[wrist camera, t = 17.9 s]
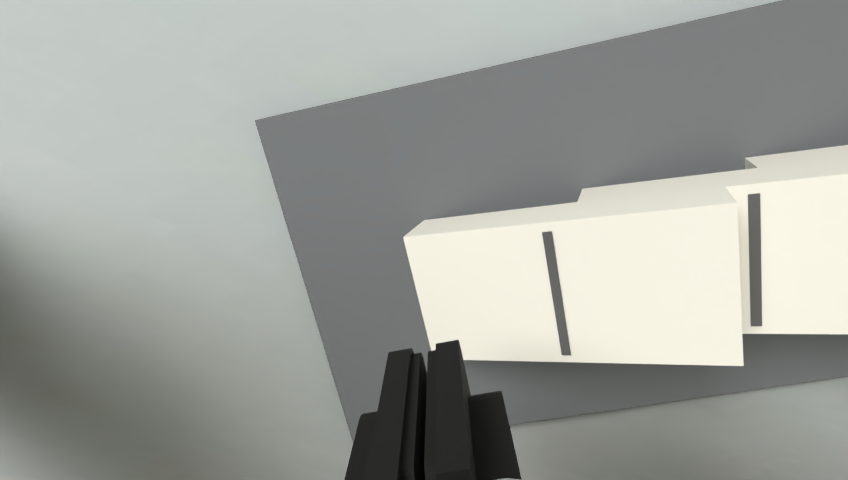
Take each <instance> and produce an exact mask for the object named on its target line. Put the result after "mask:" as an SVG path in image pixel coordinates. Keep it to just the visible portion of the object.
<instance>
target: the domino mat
mask: <svg viewBox="0 0 848 480" xmlns="http://www.w3.org/2000/svg"><path fill="white" fill-rule="evenodd" d="M255 122H256V126H257V129H258V132H259V135H260V139H261V142H262V145H263V149H264V152H265V155H266V158H267V162H268V165H269V168H270V171H271V175H272V178H273V181H274V185H275V188H276V191H277V194H278V198H279V201H280V204H281V208H282V211H283V214H284V217H285V221H286V224H287V227H288V230H289V234H290V237H291V240H292V244H293V247H294V250H295V253H296V257H297V260H298V263H299V267H300V270H301V273H302V276H303V280H304V283H305V286H306V289H307V293H308V296H309V299H310V303H311V306H312V309H313V312H314V316H315V319H316V322H317V326H318V329H319V332H320V335H321V339H322V342H323V345H324V348H325V352H326V355H327V358H328V362H329V365H330V368H331V371H332V375H333V378H334V381H335V384H336V388H337V391H338V394H339V398H340V401H341V404H342V407H343V411H344V414H345V417H346V421H347V424H348V427H349V430H350V434H351V437H352V440H353V443H354V439H355V434H356V430H357V426H358V422H359V419H360V416H361V415H362V414H363V413H369V412H375V411H377V410H378V405H379V400H380V394H381V389H382V384H383V378H384V373H385V368H386V362H387V357H388V353H389V352H392V351H397V350H403V349H409V348H412V349H413V352H414V354H416V353H422V355H423V358H424V362H425V366H426V371H427V362H428V351H431V348H430V344H429V340H428V336H427V332H426V328H425V324H424V320H423V316H422V312H421V307H420V303H419V299H418V295H417V291H416V287H415V283H414V279H413V275H412V271H411V267H410V263H409V259H408V255H407V251H406V247H405V243H404V239H403V237H404V236H405V235H406V234H408V233H409V232H410V231H411V230H412V229H414V228H415V227H416V226H417V225H419V224H420V223H421V222H422V221H424V220H429V219H437V218H446V217H454V216H463V215H471V214H480V213H488V212H497V211H505V210H514V209H522V208H531V207H539V206H548V205H556V204H564V203H573V202H578V199H579V196H580V194H581V191H582V189H583V188H592V187H600V186H609V185H617V184H625V183H634V182H642V181H651V180H659V179H667V178H676V177H684V176H693V175H701V174H710V173H718V172H726V171H735V170H743V169H745V158H747V157H755V156H763V155H771V154H779V153H787V152H795V151H803V150H811V149H819V148H827V147H835V146H843V145H848V0H782V1H778V2H774V3H769V4H765V5H760V6H756V7H752V8H747V9H743V10H738V11H734V12H730V13H725V14H721V15H716V16H712V17H708V18H703V19H699V20H694V21H690V22H686V23H681V24H677V25H672V26H668V27H664V28H659V29H655V30H650V31H646V32H642V33H637V34H633V35H628V36H624V37H620V38H615V39H611V40H606V41H602V42H598V43H593V44H589V45H584V46H580V47H576V48H571V49H567V50H562V51H558V52H554V53H549V54H545V55H540V56H536V57H532V58H527V59H523V60H518V61H514V62H510V63H505V64H501V65H496V66H492V67H488V68H483V69H479V70H474V71H470V72H466V73H461V74H457V75H452V76H448V77H444V78H439V79H435V80H430V81H426V82H422V83H417V84H413V85H409V86H404V87H400V88H395V89H391V90H387V91H382V92H378V93H373V94H369V95H365V96H360V97H356V98H351V99H347V100H343V101H338V102H334V103H329V104H325V105H321V106H316V107H312V108H307V109H303V110H299V111H294V112H290V113H285V114H281V115H277V116H272V117H268V118H263V119H259V120H255ZM742 338H743V363H744V366H716V365H670V364H625V363H580V362H534V361H489V360H463V361H464V365H465V370H466V375H467V379H468V384H469V389H470V393H471V395H477V394H483V393H489V392H495V391H502V395H503V399H504V404H505V408H506V413H507V417H508V422H509V425H514V424H521V423H528V422H535V421H542V420H549V419H556V418H562V417H569V416H576V415H583V414H590V413H597V412H604V411H611V410H618V409H625V408H632V407H639V406H646V405H653V404H660V403H667V402H674V401H680V400H687V399H694V398H701V397H708V396H715V395H722V394H729V393H736V392H743V391H750V390H757V389H764V388H771V387H778V386H785V385H792V384H799V383H805V382H812V381H819V380H826V379H833V378H840V377H847V376H848V334H742Z"/></svg>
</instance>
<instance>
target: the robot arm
mask: <svg viewBox="0 0 848 480" xmlns="http://www.w3.org/2000/svg"><path fill="white" fill-rule="evenodd" d="M345 480H521V476H520V471H519V467H518V462H517V458H516V453H515V449H514V444H513V440H512V435H511V431H510V426H509V422H508V417H507V413H506V408H505V404H504V399H503V395H502V391H495V392H489V393H483V394H477V395H471V393H470V389H469V384H468V379H467V375H466V370H465V365H464V361H463V356H462V351H461V347H460V343H459V340H454V341H448V342H442V343H437V344H436V350H433V351H428V362H427V371H426V366H425V362H424V358H423V355H422V353H416V354H414V352H413V349H412V348H409V349H403V350H397V351H392V352H389V353H388V357H387V362H386V368H385V373H384V378H383V384H382V389H381V394H380V400H379V405H378V410H377V411H375V412H369V413H363V414H362V415H361V416H360V419H359V422H358V426H357V430H356V434H355V439H354V443H353V447H352V451H351V455H350V460H349V464H348V468H347V472H346V476H345Z"/></svg>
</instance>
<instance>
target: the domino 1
mask: <svg viewBox="0 0 848 480" xmlns="http://www.w3.org/2000/svg"><path fill="white" fill-rule="evenodd" d="M403 239H404V243H405V247H406V251H407V255H408V259H409V263H410V267H411V271H412V275H413V279H414V283H415V287H416V291H417V295H418V299H419V303H420V307H421V312H422V316H423V320H424V324H425V328H426V332H427V336H428V340H429V344H430V348H431V351H433V350H436V344H437V343H442V342H448V341H454V340H459V343H460V347H461V351H462V356H463V360H489V361H534V362H580V363H625V364H670V365H716V366H744V363H743V338H742V312H741V286H740V261H739V235H738V209H737V202H736V200H735V199H734V198H733V196H732V195H731V194H730V192H729V191H728V190H727V189H726V187H725V186H724V185H717V186H708V187H700V188H691V189H683V190H674V191H666V192H658V193H649V194H641V195H632V196H624V197H615V198H607V199H598V200H590V201H581V202H573V203H564V204H556V205H548V206H539V207H531V208H522V209H514V210H505V211H497V212H488V213H480V214H471V215H463V216H454V217H446V218H437V219H429V220H424V221H422V222H421V223H420V224H419V225H417V226H416V227H415V228H414V229H412V230H411V231H410V232H409V233H408V234H406V235H405V236H404V237H403Z"/></svg>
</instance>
